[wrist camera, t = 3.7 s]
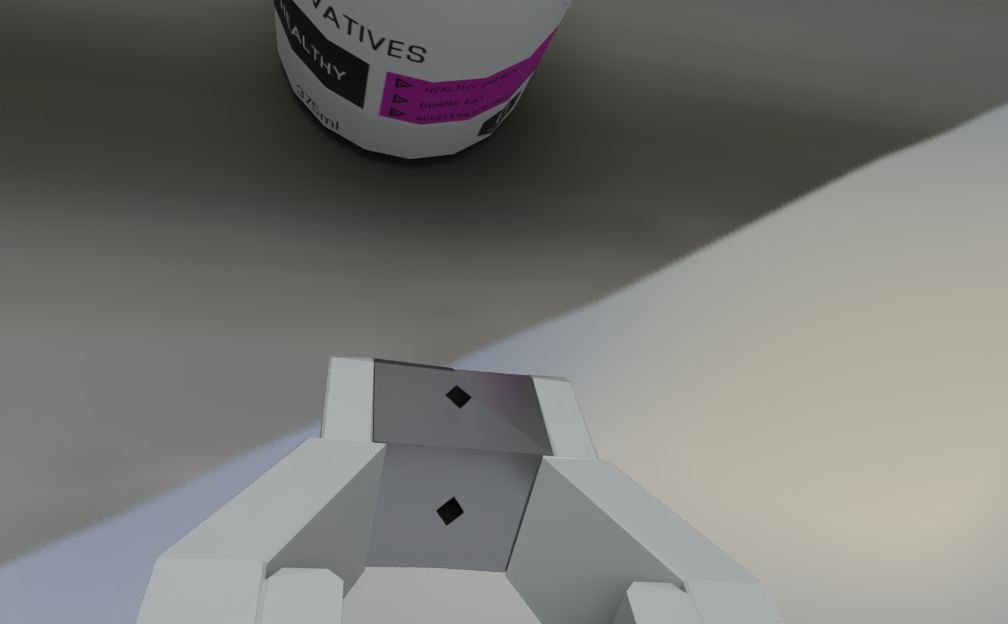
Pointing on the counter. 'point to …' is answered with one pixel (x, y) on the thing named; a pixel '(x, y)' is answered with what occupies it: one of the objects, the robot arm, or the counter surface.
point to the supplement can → (413, 66)
